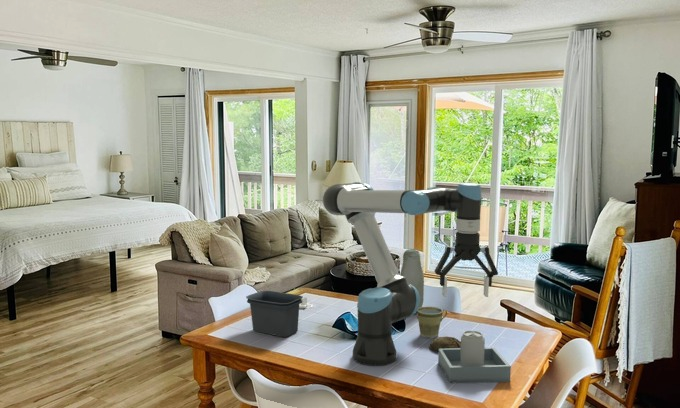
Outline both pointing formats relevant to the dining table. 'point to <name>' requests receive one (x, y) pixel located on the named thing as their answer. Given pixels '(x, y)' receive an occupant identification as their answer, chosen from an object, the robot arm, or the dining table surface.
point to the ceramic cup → (430, 321)
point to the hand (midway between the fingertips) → (465, 295)
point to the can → (472, 349)
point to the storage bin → (274, 312)
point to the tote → (474, 367)
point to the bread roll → (444, 343)
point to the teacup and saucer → (304, 303)
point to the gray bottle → (413, 271)
